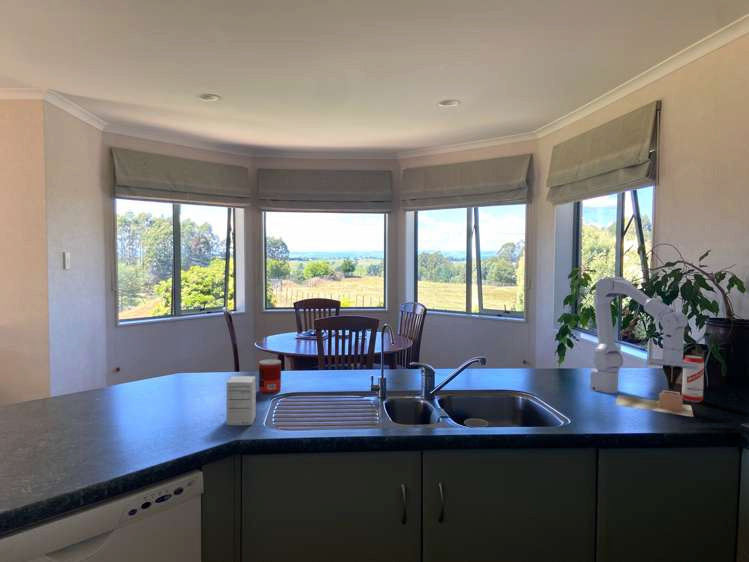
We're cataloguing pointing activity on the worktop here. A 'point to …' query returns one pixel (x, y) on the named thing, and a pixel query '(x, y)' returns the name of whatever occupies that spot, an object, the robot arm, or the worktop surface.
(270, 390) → the canned food
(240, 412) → the supplement box
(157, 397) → the worktop surface
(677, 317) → the robot arm
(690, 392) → the beer can
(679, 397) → the tan boxy piece
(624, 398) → the board
